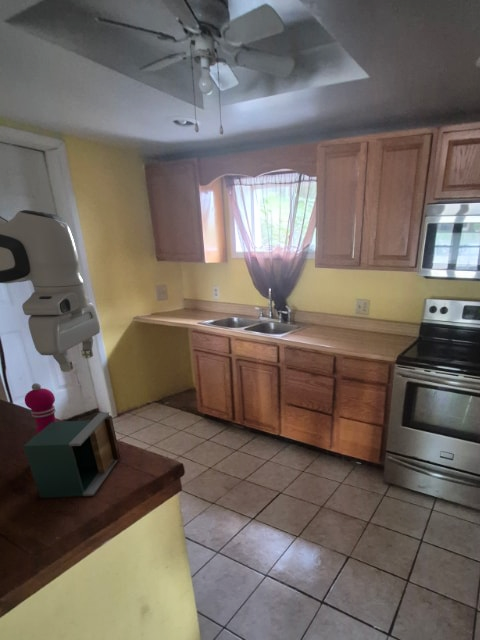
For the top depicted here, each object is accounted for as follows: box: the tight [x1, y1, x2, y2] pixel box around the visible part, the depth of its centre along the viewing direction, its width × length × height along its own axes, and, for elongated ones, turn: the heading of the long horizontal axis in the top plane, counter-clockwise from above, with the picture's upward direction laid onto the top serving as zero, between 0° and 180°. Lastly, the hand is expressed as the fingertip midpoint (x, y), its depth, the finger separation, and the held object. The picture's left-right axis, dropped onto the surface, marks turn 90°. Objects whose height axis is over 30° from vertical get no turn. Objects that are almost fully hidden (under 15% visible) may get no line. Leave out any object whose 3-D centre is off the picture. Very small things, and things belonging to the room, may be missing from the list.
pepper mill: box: [24, 382, 58, 437], centre depth 92 cm, size 7×7×20 cm
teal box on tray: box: [22, 411, 119, 499], centre depth 85 cm, size 11×15×13 cm
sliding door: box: [90, 416, 121, 473], centre depth 88 cm, size 2×7×11 cm, turn 4°
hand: (78, 363), depth 81 cm, fingers open, 8 cm apart
